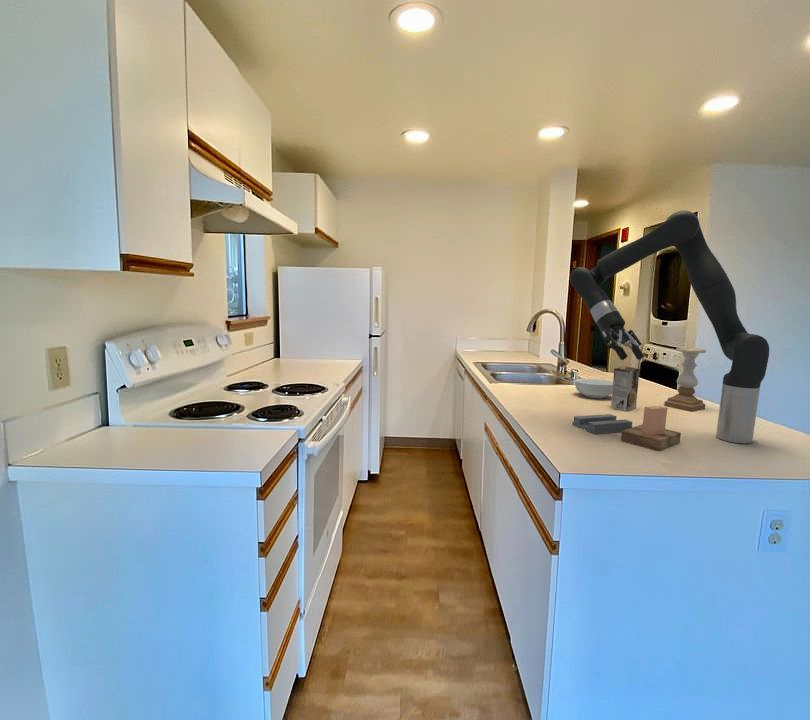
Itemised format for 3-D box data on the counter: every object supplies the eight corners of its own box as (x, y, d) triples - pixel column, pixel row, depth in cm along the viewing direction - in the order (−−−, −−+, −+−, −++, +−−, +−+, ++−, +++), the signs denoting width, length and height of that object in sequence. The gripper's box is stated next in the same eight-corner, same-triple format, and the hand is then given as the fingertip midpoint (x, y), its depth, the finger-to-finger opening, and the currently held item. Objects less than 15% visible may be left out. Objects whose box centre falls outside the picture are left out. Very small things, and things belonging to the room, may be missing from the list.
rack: (608, 421, 155) (609, 413, 154) (632, 431, 144) (633, 422, 144) (572, 424, 150) (573, 416, 150) (594, 434, 140) (595, 425, 140)
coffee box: (620, 404, 181) (623, 366, 179) (636, 408, 176) (640, 368, 174) (609, 408, 175) (613, 368, 173) (626, 411, 170) (630, 370, 168)
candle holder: (677, 402, 187) (683, 347, 184) (705, 408, 178) (712, 350, 175) (663, 405, 181) (669, 348, 178) (691, 411, 172) (699, 351, 169)
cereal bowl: (607, 393, 203) (608, 378, 202) (621, 401, 187) (623, 385, 186) (569, 391, 205) (570, 377, 204) (580, 400, 188) (581, 383, 187)
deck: (642, 432, 143) (643, 423, 142) (679, 442, 134) (680, 432, 134) (620, 440, 134) (621, 431, 134) (658, 450, 126) (659, 440, 125)
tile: (657, 431, 134) (660, 405, 133) (664, 433, 132) (667, 407, 131) (641, 432, 133) (644, 406, 132) (648, 435, 130) (651, 408, 129)
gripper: (601, 309, 138) (628, 352, 131) (629, 310, 145) (656, 351, 138) (584, 323, 144) (609, 365, 136) (612, 324, 151) (637, 364, 143)
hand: (633, 358), depth 137 cm, fingers open, 8 cm apart
